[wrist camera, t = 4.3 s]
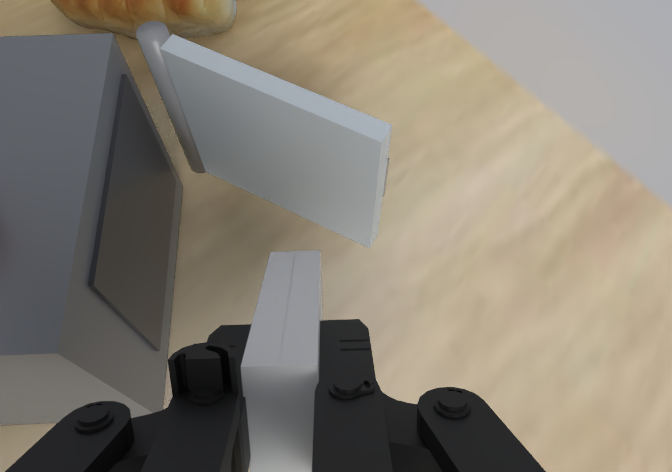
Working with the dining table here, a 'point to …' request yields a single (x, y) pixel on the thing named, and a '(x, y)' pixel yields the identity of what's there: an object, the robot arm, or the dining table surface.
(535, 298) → the dining table surface
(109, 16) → the pastry
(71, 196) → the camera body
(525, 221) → the dining table surface
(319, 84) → the dining table surface
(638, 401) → the dining table surface
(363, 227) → the side door
